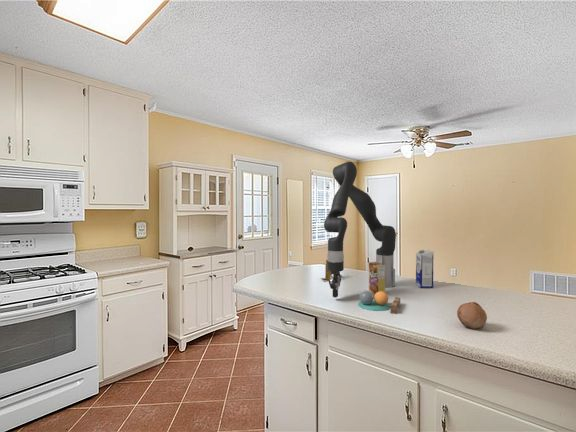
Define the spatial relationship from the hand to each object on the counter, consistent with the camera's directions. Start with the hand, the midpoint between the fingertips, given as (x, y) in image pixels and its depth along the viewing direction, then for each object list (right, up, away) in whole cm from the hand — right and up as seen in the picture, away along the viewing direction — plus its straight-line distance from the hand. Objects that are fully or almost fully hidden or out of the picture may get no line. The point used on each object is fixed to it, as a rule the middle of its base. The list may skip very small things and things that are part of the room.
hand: (335, 297), depth 150 cm
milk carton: (+52, -1, +25) cm, 58 cm away
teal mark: (+16, -2, -8) cm, 18 cm away
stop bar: (+24, -2, -12) cm, 27 cm away
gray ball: (+13, +1, -7) cm, 15 cm away
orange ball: (+19, +1, -7) cm, 21 cm away
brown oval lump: (+45, -3, -33) cm, 56 cm away
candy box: (+23, -1, +12) cm, 26 cm away
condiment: (+2, -1, +41) cm, 41 cm away
